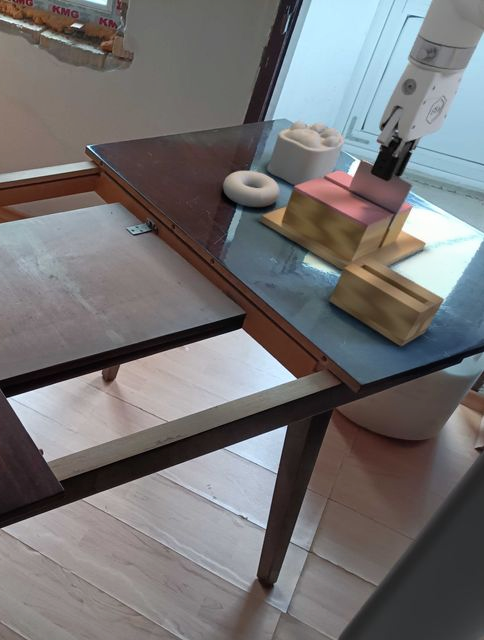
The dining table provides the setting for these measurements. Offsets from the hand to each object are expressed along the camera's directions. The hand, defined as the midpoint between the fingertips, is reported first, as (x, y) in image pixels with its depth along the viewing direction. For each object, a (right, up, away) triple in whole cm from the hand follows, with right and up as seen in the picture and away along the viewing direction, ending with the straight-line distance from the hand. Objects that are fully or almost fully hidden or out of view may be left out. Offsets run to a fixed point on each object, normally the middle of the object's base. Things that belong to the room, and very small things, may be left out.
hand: (385, 174), depth 107 cm
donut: (-15, 0, +19) cm, 24 cm away
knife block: (-5, -23, -7) cm, 24 cm away
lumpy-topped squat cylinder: (-2, +8, +28) cm, 29 cm away
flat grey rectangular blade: (-1, -5, +5) cm, 8 cm away
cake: (-2, -8, +10) cm, 13 cm away
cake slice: (0, -6, +11) cm, 12 cm away
